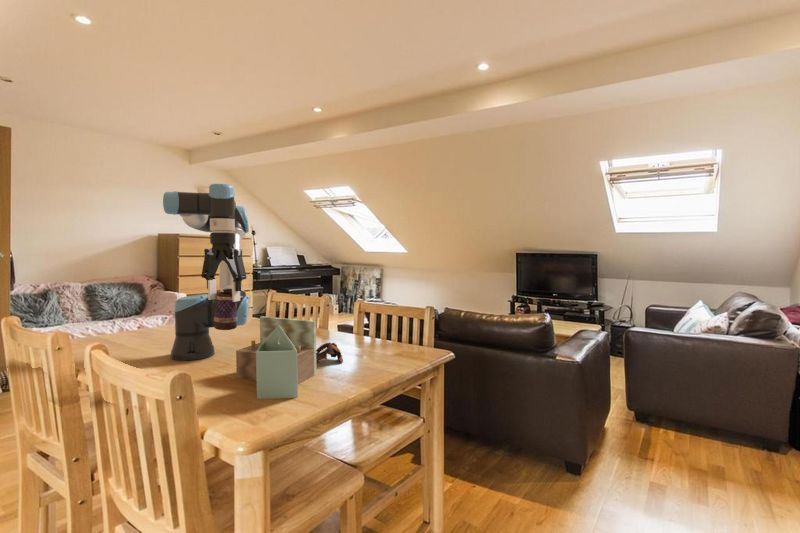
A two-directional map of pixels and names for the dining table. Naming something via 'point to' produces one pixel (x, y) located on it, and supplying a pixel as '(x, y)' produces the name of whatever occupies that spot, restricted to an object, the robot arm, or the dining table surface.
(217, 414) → the dining table surface
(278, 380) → the planter
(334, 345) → the brown arched figurine
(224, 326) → the mug
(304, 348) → the wall shelf
